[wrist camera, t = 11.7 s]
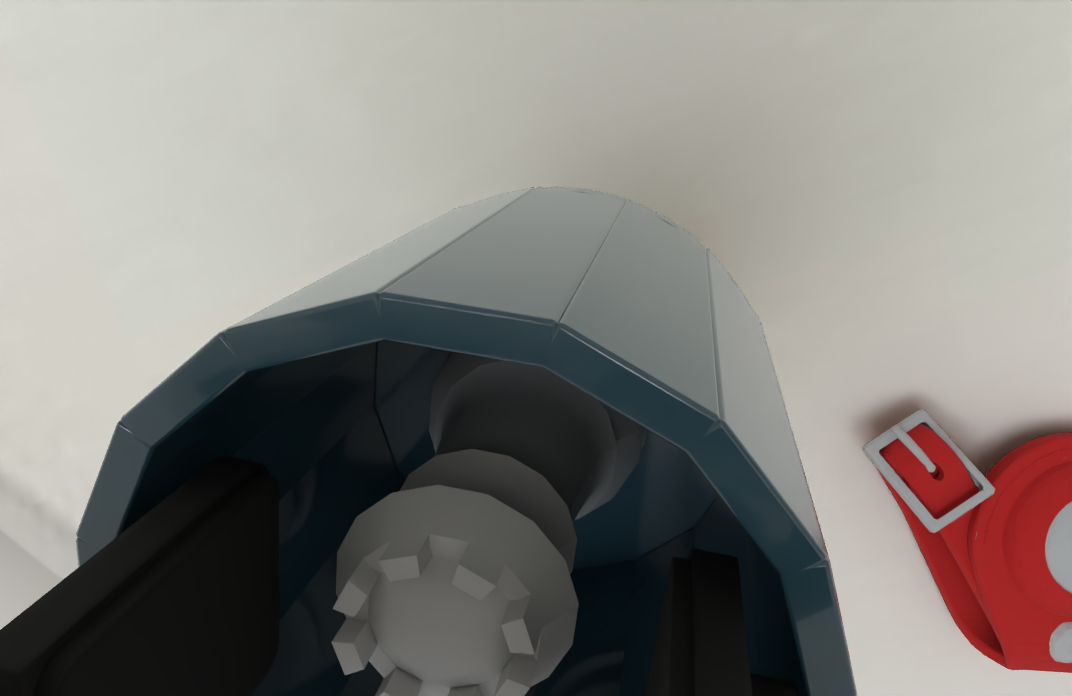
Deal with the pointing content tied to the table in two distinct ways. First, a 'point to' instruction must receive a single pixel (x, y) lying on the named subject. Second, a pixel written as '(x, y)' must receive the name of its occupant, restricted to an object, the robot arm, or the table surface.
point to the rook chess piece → (481, 535)
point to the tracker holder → (991, 537)
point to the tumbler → (527, 338)
